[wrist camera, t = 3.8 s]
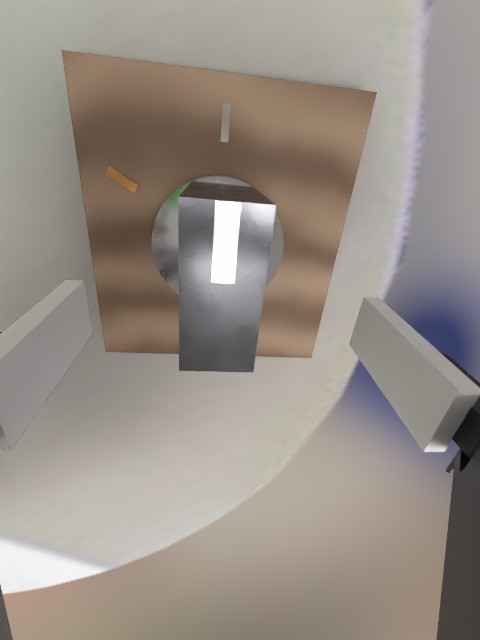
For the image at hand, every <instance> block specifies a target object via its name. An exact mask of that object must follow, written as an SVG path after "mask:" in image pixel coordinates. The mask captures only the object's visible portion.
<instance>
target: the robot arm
mask: <svg viewBox="0 0 480 640" xmlns="http://www.w3.org/2000/svg"><path fill="white" fill-rule="evenodd" d="M92 334H93V331H92V325H91V319H90V313H89V307H88V301H87V295H86V289H85V283H84V281H80V280H65V281H64V282H63V283H61V284H60V285H59V286H58V287H57V288H55V289H54V290H53V291H52V292H50V293H49V294H48V295H47V296H46V297H44V298H43V299H42V300H41V301H40V302H38V303H37V304H36V305H35V306H33V307H32V308H31V309H30V310H29V311H27V312H26V313H25V314H24V315H23V316H21V317H20V318H19V319H18V320H16V321H15V322H14V323H13V324H12V325H10V326H9V327H8V328H7V329H6V330H4V331H3V332H0V450H12V449H13V447H14V446H15V444H16V443H17V441H18V440H19V439H20V437H21V436H22V434H23V433H24V431H25V430H26V428H27V427H28V426H29V424H30V423H31V421H32V420H33V418H34V417H35V416H36V414H37V413H38V411H39V410H40V408H41V407H42V406H43V404H44V403H45V401H46V400H47V398H48V397H49V396H50V394H51V393H52V391H53V390H54V388H55V387H56V386H57V384H58V383H59V381H60V380H61V378H62V377H63V376H64V374H65V373H66V371H67V370H68V368H69V367H70V366H71V364H72V363H73V361H74V360H75V358H76V357H77V356H78V354H79V353H80V351H81V350H82V348H83V347H84V346H85V344H86V343H87V341H88V340H89V338H90V337H91V335H92ZM349 345H350V346H351V348H352V349H353V350H354V352H355V353H356V355H357V356H358V358H359V359H360V361H361V362H362V363H363V365H364V366H365V367H366V369H367V371H368V372H369V373H370V375H371V376H372V378H373V379H374V381H375V382H376V384H377V385H378V387H379V388H380V389H381V391H382V392H383V394H384V395H385V397H386V398H387V399H388V401H389V402H390V404H391V405H392V407H393V408H394V410H395V411H396V412H397V414H398V415H399V417H400V418H401V420H402V421H403V423H404V424H405V425H406V427H407V428H408V430H409V431H410V432H411V434H412V435H413V437H414V438H415V440H416V441H417V443H418V444H419V446H420V447H421V448H422V450H423V451H424V452H445V450H446V449H447V447H448V446H449V444H450V442H451V441H452V439H453V440H454V441H455V443H456V444H457V445H458V446H459V447H460V449H459V451H458V452H457V454H456V455H455V457H454V458H453V460H452V461H451V463H450V464H449V466H448V468H447V469H446V471H447V472H449V473H450V471H451V470H452V469H454V473H453V483H452V493H451V503H450V513H449V523H448V533H447V543H446V552H445V563H444V572H443V582H442V592H441V602H440V612H439V622H438V632H437V640H480V383H479V382H478V381H477V380H476V379H474V378H473V377H472V376H471V375H470V374H467V372H466V371H465V370H464V369H463V368H462V367H459V365H458V364H457V363H456V362H455V361H454V360H453V359H452V358H450V357H449V356H447V355H445V354H444V353H442V352H440V351H439V350H437V349H435V348H434V347H433V346H432V345H431V344H430V343H429V342H428V341H426V340H425V339H424V338H423V337H422V336H421V335H420V334H419V333H417V332H416V331H415V330H414V329H413V328H412V327H411V326H410V325H409V324H407V323H406V322H405V321H404V320H403V319H401V317H400V316H398V315H397V314H396V313H395V312H394V311H393V310H391V309H390V308H389V307H388V306H387V305H386V304H385V303H384V302H383V301H382V300H380V299H379V298H370V297H364V299H363V302H362V305H361V308H360V311H359V315H358V318H357V321H356V324H355V327H354V330H353V334H352V337H351V340H350V343H349ZM0 640H13V639H12V635H11V630H10V626H9V621H8V617H7V612H6V608H5V604H4V599H3V595H2V590H1V586H0Z"/></svg>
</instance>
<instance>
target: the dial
mask: <svg viewBox="0 0 480 640" xmlns="http://www.w3.org/2000/svg"><path fill="white" fill-rule="evenodd" d="M283 248H284V236H283V230H282V226H281V223H280V219H279V217H278V215H277V213H276V204H274V203H273V202H272V201H270V200H269V199H268V198H267V197H265V196H264V195H263V194H261V193H260V192H259V191H258V190H257V189H255V188H254V187H252V186H251V185H249V184H248V183H246V182H244V181H242V180H239V179H236V178H233V177H229V176H223V175H211V176H204V177H200V178H197V179H194V180H192V181H189V182H187V183H186V184H184V185H182V186H181V187H179V188H178V189H177V190H176V191H175V192H174V193H172V194H171V195H170V196H169V198H168V199H167V200H166V201H165V202H164V204H163V205H162V207H161V208H160V210H159V212H158V214H157V216H156V219H155V222H154V225H153V231H152V252H153V257H154V261H155V263H156V266H157V268H158V270H159V272H160V274H161V276H162V277H163V279H164V280H165V282H166V283H167V284H168V285H169V286H170V287H171V288H172V289H173V290H174V291H175V292H176V293H177V294H178V295H179V371H221V372H253V370H254V362H255V355H256V348H257V341H258V334H259V326H260V319H261V312H262V305H263V298H264V290H265V288H266V287H267V286H268V285H269V284H270V282H271V281H272V279H273V278H274V277H275V275H276V273H277V271H278V269H279V266H280V263H281V260H282V256H283Z"/></svg>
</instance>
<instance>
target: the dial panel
mask: <svg viewBox="0 0 480 640" xmlns="http://www.w3.org/2000/svg"><path fill="white" fill-rule="evenodd" d="M62 56H63V63H64V69H65V76H66V83H67V90H68V97H69V104H70V110H71V117H72V124H73V131H74V138H75V145H76V151H77V158H78V165H79V172H80V179H81V186H82V192H83V199H84V206H85V213H86V220H87V227H88V233H89V240H90V247H91V254H92V261H93V268H94V275H95V281H96V288H97V295H98V302H99V309H100V316H101V322H102V329H103V336H104V343H105V350H106V352H130V353H163V354H179V295H178V294H177V293H176V292H175V291H174V290H173V289H172V288H171V287H170V286H169V285H168V284H167V283H166V282H165V280H164V279H163V277H162V276H161V274H160V272H159V270H158V268H157V266H156V263H155V261H154V257H153V252H152V231H153V225H154V222H155V219H156V216H157V214H158V212H159V210H160V208H161V207H162V205H163V204H164V202H165V201H166V200H167V199H168V198H169V196H170V195H171V194H172V193H174V192H175V191H176V190H177V189H178V188H179V187H181V186H182V185H184V184H186V183H187V182H189V181H192V180H194V179H197V178H200V177H204V176H211V175H223V176H229V177H233V178H236V179H239V180H242V181H244V182H246V183H248V184H249V185H251V186H252V187H254V188H255V189H257V190H258V191H259V192H260V193H261V194H263V195H264V196H265V197H267V198H268V199H269V200H270V201H272V202H273V203H274V204H276V213H277V215H278V217H279V219H280V223H281V226H282V230H283V236H284V248H283V256H282V260H281V263H280V266H279V269H278V271H277V273H276V275H275V277H274V278H273V279H272V281H271V282H270V284H269V285H268V286H267V287H266V288H265V290H264V298H263V305H262V312H261V319H260V326H259V334H258V341H257V348H256V355H255V356H264V357H298V358H311V356H312V352H313V348H314V344H315V340H316V336H317V332H318V328H319V324H320V320H321V316H322V312H323V308H324V304H325V300H326V296H327V292H328V288H329V283H330V279H331V275H332V271H333V267H334V263H335V259H336V255H337V251H338V247H339V243H340V239H341V235H342V231H343V227H344V223H345V219H346V215H347V211H348V206H349V202H350V198H351V194H352V190H353V186H354V182H355V178H356V174H357V170H358V166H359V162H360V158H361V154H362V150H363V146H364V142H365V138H366V134H367V130H368V125H369V121H370V117H371V113H372V109H373V105H374V101H375V97H376V93H377V92H370V91H362V90H355V89H347V88H340V87H332V86H325V85H317V84H310V83H303V82H295V81H288V80H280V79H273V78H265V77H258V76H250V75H243V74H235V73H228V72H221V71H213V70H206V69H198V68H191V67H183V66H176V65H168V64H161V63H153V62H146V61H138V60H131V59H124V58H116V57H109V56H101V55H94V54H86V53H79V52H71V51H64V50H62Z"/></svg>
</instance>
